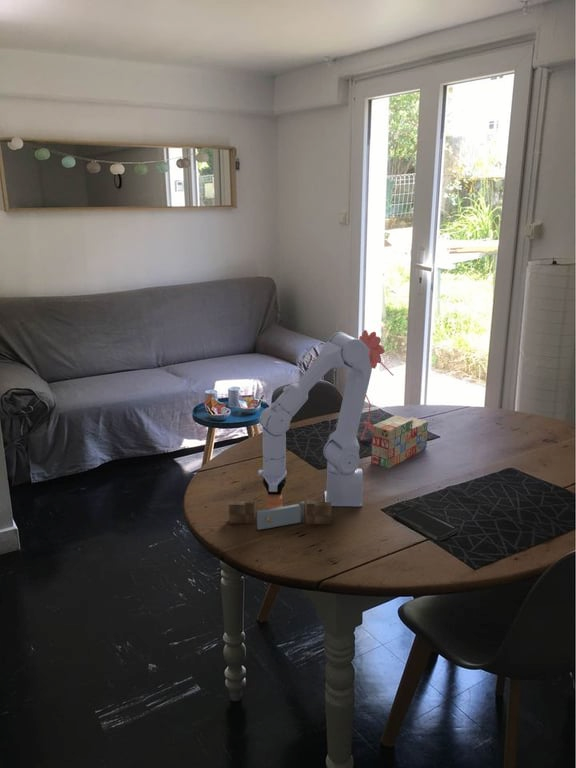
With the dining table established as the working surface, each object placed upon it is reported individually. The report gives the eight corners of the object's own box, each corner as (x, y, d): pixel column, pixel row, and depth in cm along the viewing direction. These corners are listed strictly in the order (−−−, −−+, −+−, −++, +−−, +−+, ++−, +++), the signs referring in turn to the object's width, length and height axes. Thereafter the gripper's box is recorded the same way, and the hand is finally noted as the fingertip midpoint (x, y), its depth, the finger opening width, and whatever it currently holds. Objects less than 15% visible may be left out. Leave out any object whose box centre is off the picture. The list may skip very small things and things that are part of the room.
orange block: (282, 512, 160) (282, 494, 159) (281, 524, 154) (281, 506, 153) (266, 512, 160) (266, 494, 159) (265, 524, 154) (265, 506, 153)
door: (303, 519, 156) (303, 501, 155) (306, 523, 155) (306, 504, 153) (256, 527, 152) (256, 509, 151) (259, 531, 151) (259, 513, 149)
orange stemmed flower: (376, 449, 200) (383, 340, 191) (325, 425, 220) (329, 326, 211) (411, 439, 209) (419, 335, 199) (358, 418, 229) (363, 322, 219)
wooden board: (330, 520, 156) (331, 500, 155) (331, 524, 155) (331, 504, 153) (230, 519, 157) (229, 499, 155) (229, 523, 155) (228, 502, 153)
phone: (412, 504, 163) (460, 528, 151) (412, 508, 163) (459, 532, 152) (391, 513, 158) (438, 538, 147) (390, 517, 159) (438, 542, 147)
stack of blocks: (409, 443, 205) (412, 407, 202) (426, 448, 201) (429, 412, 197) (370, 463, 190) (372, 424, 187) (387, 469, 186) (389, 429, 183)
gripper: (260, 443, 163) (260, 491, 167) (255, 467, 149) (256, 518, 153) (287, 444, 163) (287, 491, 167) (285, 467, 149) (285, 519, 153)
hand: (274, 504), depth 160 cm, fingers closed, pressing on orange block
